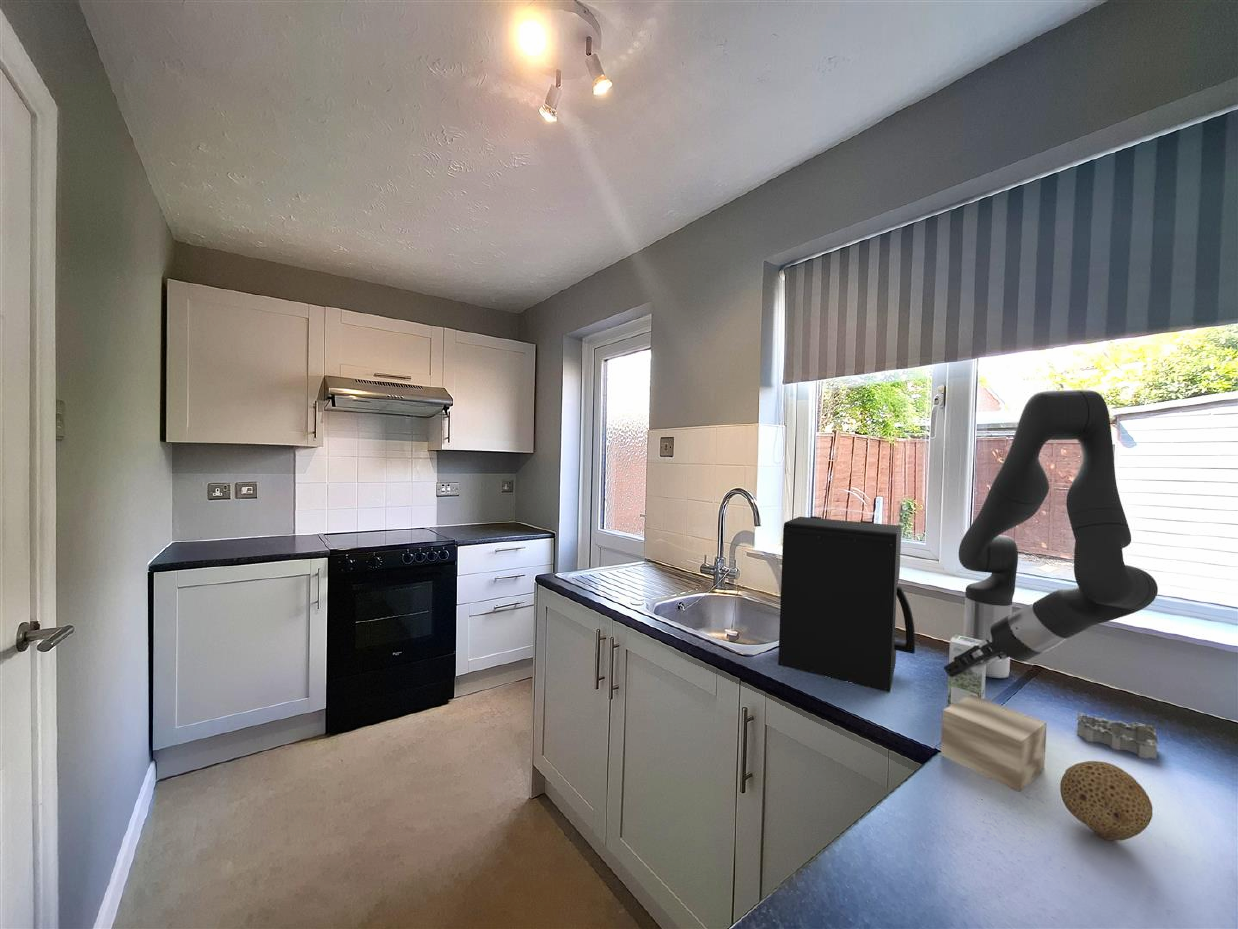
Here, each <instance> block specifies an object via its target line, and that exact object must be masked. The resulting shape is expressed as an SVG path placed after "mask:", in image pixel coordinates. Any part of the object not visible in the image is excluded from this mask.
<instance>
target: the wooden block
mask: <svg viewBox="0 0 1238 929" xmlns="http://www.w3.org/2000/svg"><path fill="white" fill-rule="evenodd" d="M941 725H942V726H941V745H940V746H941V747H940V755H941V756H942V757H944V758H947V759H948V760H951V761H953V762H954V763H957V764H960V765H962V766H963V767H966V768H968V769H969V770H972V771H974V772H975V773H978V774H981V775H983V776H985V777H987V778H989V779H991V780H992V781H995V782H996V783H999V784H1001V785H1003V786H1005V787H1008V788H1010V789H1012V790H1014V791H1015V792H1019V793H1020V791H1022V790H1023V789H1024V788H1025V787H1027V786H1028V785H1029V783H1030V782H1031V781H1033V780H1034V779H1035V778H1036V777H1037V776H1038V775H1040V774H1041V773H1042V772H1043V771H1044V770H1045V766H1046V765H1045V763H1046V747H1047V746H1046V740H1047V727H1048V726H1047V725H1048V724H1047V721H1044V720H1043V719H1042V720H1041V719H1039V718H1036V717H1034V716H1031V715H1027V714H1026V713H1023V712H1020V711H1017V710H1015V709H1012V708H1009V707H1007V706H1003V705H1002V704H998V703H995V702H992V701H990V700H988V699H985V698H984V699H982V698H979V697H977V696H974V695H969V696H967V697H966V698H964V699H962V700H960V701H958V702H956V703H955V704H953V705H951V706H949V707H947V706H946V707H945V708H944V709H942V722H941Z"/></svg>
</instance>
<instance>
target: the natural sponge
mask: <svg viewBox="0 0 1238 929" xmlns="http://www.w3.org/2000/svg"><path fill="white" fill-rule="evenodd" d="M1059 787H1060V788H1059V790H1060V796H1061V800H1062V802H1063V804H1064V806H1065V807H1066V809H1067V810H1068V812H1069V813H1070V814H1071V815H1073V816H1074V818H1076V819H1077V820H1078V821H1080V822H1081V823H1083V824H1084V825H1085V826H1087V827H1088V828H1089V829H1090V830H1091V831H1092V832H1093V833H1094V834H1095V835H1097V836H1099V837H1100V838H1103V839H1104V840H1110V841H1114V842H1115V841H1126V840H1128V839H1131V838H1134V837H1136V836H1138V835H1140V834H1141V833H1142V832H1144V830H1146V829H1147V828H1148V826H1149V825H1150V823H1151V822H1152V819H1153V810H1154V809H1153V804H1152V802H1151V800H1150V798H1149V795H1148V794H1147V791H1146V790H1145V789H1144V787H1142V786H1141V784H1140V783H1139V782H1138V781H1137V780H1136V779H1135V778H1134V777H1133V775H1131V774H1129V773H1128V772H1127V771H1125V770H1123V769H1122V768H1120V767H1118V766H1117V765H1115V764H1112V763H1109V762H1106V761H1101V760H1100V761H1096V760H1090V761H1089V760H1088V761H1082V762H1077V763H1075V764H1074V765H1072V766H1070V767H1068V768H1066V769H1065V773H1064V774H1062V777H1061V780H1060V786H1059Z"/></svg>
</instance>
